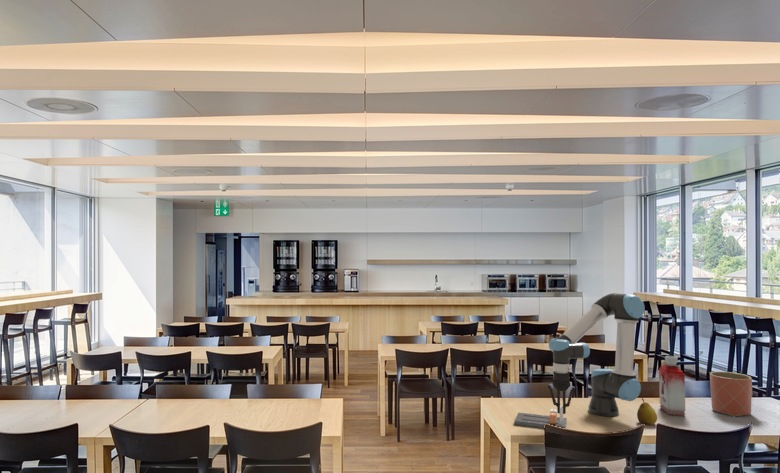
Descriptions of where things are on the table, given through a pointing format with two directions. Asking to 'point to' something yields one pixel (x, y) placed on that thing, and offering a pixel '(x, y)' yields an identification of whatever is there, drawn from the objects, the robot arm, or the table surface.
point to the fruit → (646, 414)
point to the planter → (731, 393)
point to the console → (537, 420)
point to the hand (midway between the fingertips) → (561, 420)
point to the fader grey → (554, 412)
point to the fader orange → (552, 418)
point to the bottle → (672, 387)
